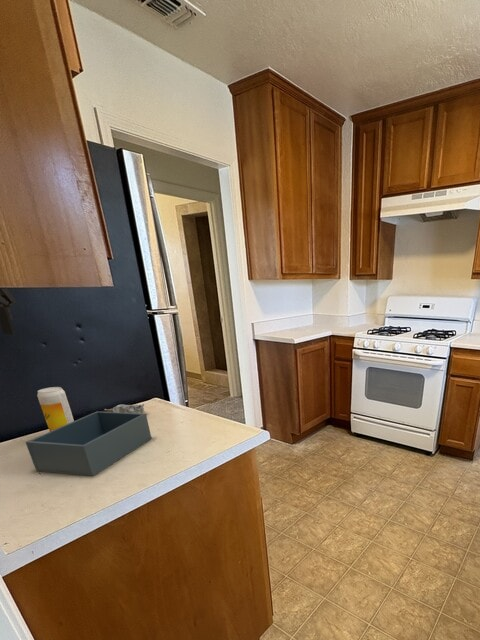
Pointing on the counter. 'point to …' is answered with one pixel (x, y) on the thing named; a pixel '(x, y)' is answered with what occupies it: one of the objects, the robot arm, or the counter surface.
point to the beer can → (55, 407)
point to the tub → (89, 443)
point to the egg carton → (127, 409)
